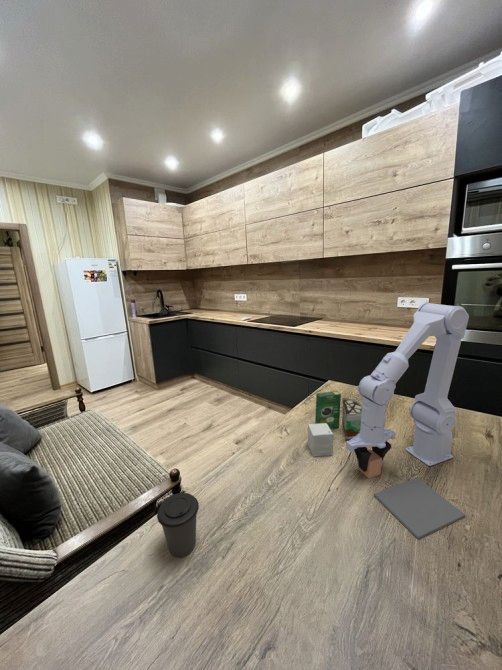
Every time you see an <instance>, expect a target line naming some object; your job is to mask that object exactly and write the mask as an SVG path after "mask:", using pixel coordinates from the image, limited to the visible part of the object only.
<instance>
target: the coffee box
mask: <svg viewBox="0 0 502 670" xmlns="http://www.w3.org/2000/svg"><path fill="white" fill-rule="evenodd" d="M341 398H342V393H340V392H339V391H337V390H335V391H326V392H318V393H316V399H315V417H314V418H315V421H314V422H315V423H314V424H321V423H327V425H328V426H329V428H330V430H336V429H339V428H340V418H341V417H340V416H341V415H340V413H341V400H342V399H341Z"/></svg>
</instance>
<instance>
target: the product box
mask: <svg viewBox="0 0 502 670" xmlns="http://www.w3.org/2000/svg"><path fill="white" fill-rule="evenodd" d="M307 446H308V448H309V450H310V452H311V453H310V454H311V455H312V457H325V456H333V449H334V433H333V432H332V429H330V428H329V426H328V425H327V423H321V424H315V423H308V424H307Z"/></svg>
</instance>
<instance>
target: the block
mask: <svg viewBox="0 0 502 670" xmlns="http://www.w3.org/2000/svg"><path fill="white" fill-rule="evenodd" d="M367 450H368V451H369V452H371V453H372V455H371V456H370V458H369V461H368V467H367V471H366V472H364V471H362V470H361V469H360V468H359V464H358V463H357V464H358V465H357V469H358V470H359V471H360V472H361V473H362V474H363V475H364V476H365V477H366V478H367V479H371V478H374V477H377V476H379V475H381V474H382V473H381V472H382V462H383V461H382V458H381V457H380V456H379V455H377V454H376V453H375V452H374V451H372V448H370V449H367Z"/></svg>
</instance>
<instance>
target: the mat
mask: <svg viewBox="0 0 502 670" xmlns="http://www.w3.org/2000/svg"><path fill="white" fill-rule="evenodd" d="M373 497H374V498H375V499H376V500H377V501H378V502H379V503H380V504H381V505H383V507H384V508H385V509H386V510H388V512H389V513H390V514H391V515H392V516H394V518H395V519H396V520H398V522H399V523H401V525H403V527H405V528H406V529H407V531H409V532H410V534H412V536H414V537H415V539H416V540H420V539H423V538H424V537H426V536H428V535H430V534H432V533H434V532H437V531H439V530H441V529H443V528H445V527H447V526H449V525H451V524H453V523H456V522H458V521H460V520H462V519H464V518H466V513H464V512H463V511H462V510H460V509H459V508H457V506H455V505H454V504H452V503H451V502H450V501H449V500H447V499H446V498H445V497H443V496H442V495H441V494H440V493H438V492H436V491H435V490H434V489H433V488H432V487H430V486H429V485H427V484H426V483H425V482H423V481H422V480H421V479H419V478H418V477H415V478H413V479H410V480H407V481H405V482H402V483H400V484H397V485H393V486H392V487H389V488H385V489H384V490H381V491H378V492H375V493H373Z"/></svg>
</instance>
